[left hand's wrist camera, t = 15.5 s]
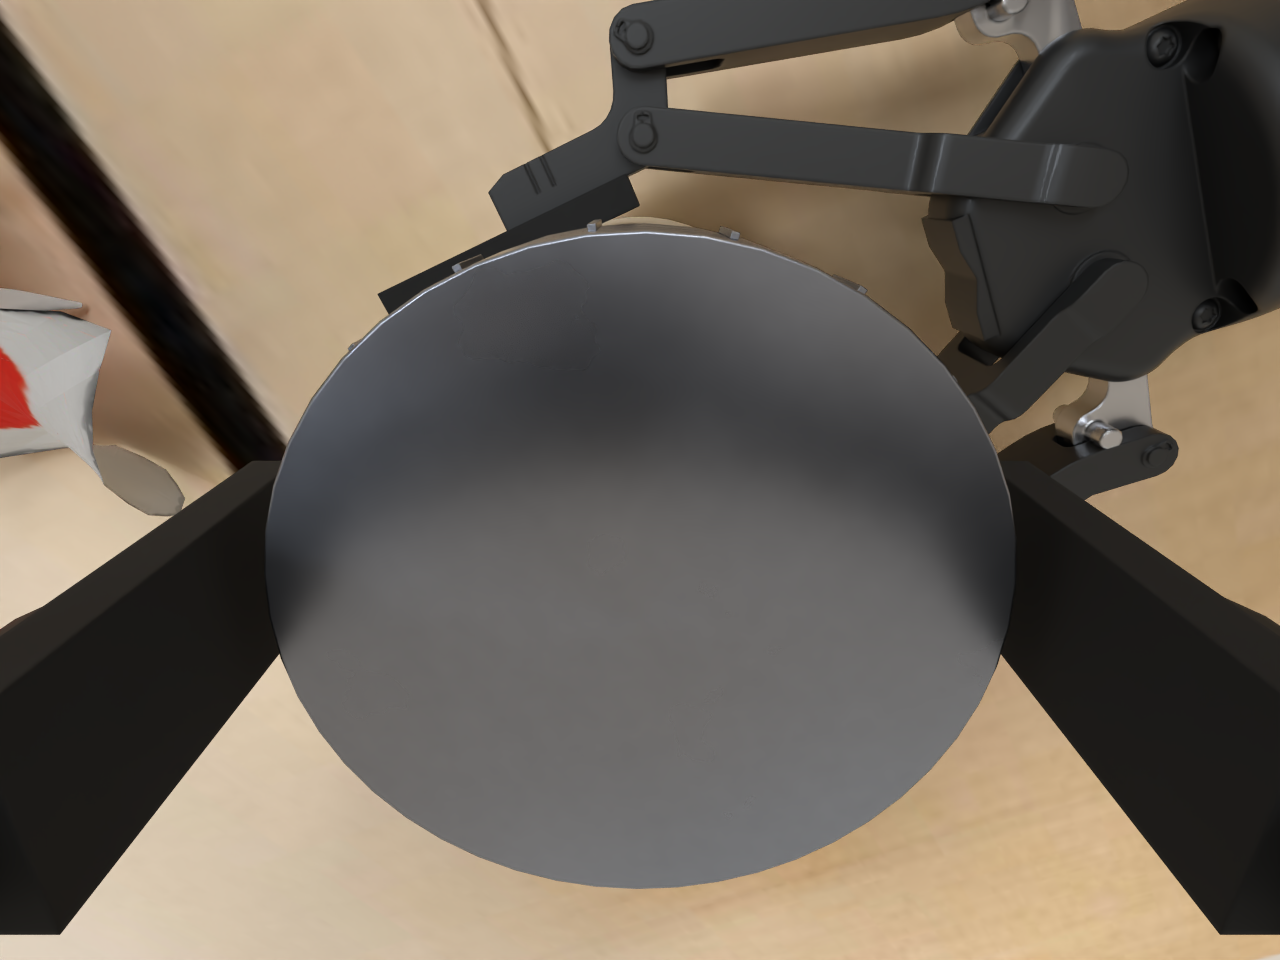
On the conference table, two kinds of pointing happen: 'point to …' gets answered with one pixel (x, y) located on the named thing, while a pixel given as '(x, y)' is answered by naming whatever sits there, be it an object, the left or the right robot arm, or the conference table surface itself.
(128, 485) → the fish
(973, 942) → the conference table surface
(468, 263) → the lid
